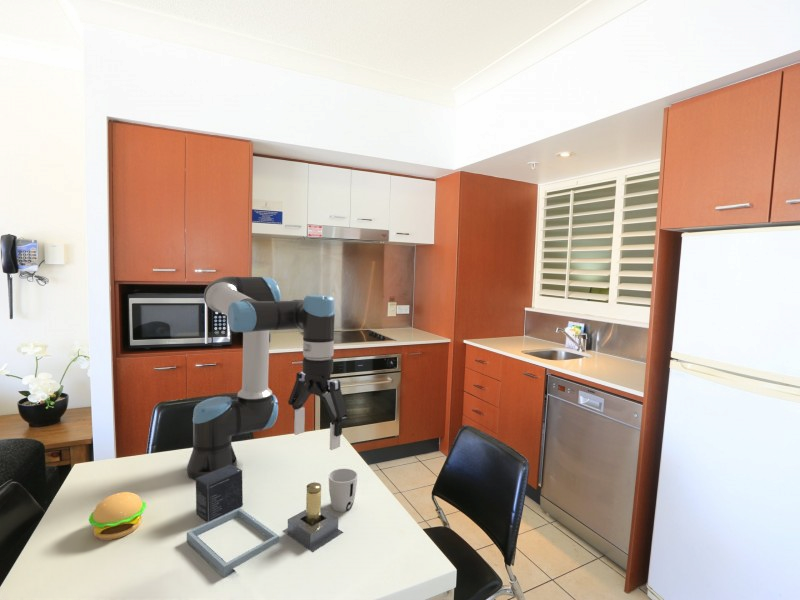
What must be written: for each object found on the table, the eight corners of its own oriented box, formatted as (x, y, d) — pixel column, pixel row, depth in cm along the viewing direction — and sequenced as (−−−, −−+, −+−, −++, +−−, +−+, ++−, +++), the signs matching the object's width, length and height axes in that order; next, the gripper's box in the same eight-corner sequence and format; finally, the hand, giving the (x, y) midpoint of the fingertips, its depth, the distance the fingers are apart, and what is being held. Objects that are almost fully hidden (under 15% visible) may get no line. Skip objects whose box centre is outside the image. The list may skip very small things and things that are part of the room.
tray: (186, 541, 100) (186, 532, 100) (239, 516, 111) (239, 507, 111) (224, 577, 89) (224, 566, 89) (279, 545, 100) (279, 536, 100)
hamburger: (86, 550, 96) (85, 515, 96) (91, 523, 106) (91, 491, 106) (146, 534, 103) (145, 501, 102) (145, 510, 113) (145, 480, 112)
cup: (351, 519, 112) (352, 484, 111) (323, 515, 113) (324, 480, 113) (360, 503, 120) (361, 470, 119) (333, 499, 121) (334, 466, 120)
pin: (302, 532, 104) (303, 486, 103) (313, 525, 107) (314, 481, 106) (311, 538, 102) (312, 491, 101) (323, 531, 105) (324, 485, 104)
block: (282, 534, 104) (282, 517, 104) (313, 517, 112) (313, 501, 112) (312, 556, 97) (313, 537, 96) (343, 536, 104) (344, 519, 104)
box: (230, 498, 120) (230, 463, 120) (243, 505, 116) (244, 470, 116) (194, 514, 112) (194, 477, 111) (207, 523, 108) (208, 485, 107)
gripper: (275, 352, 107) (274, 431, 108) (342, 367, 91) (339, 460, 93) (298, 348, 112) (297, 423, 114) (365, 362, 97) (362, 449, 98)
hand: (316, 440), depth 103 cm, fingers open, 13 cm apart
